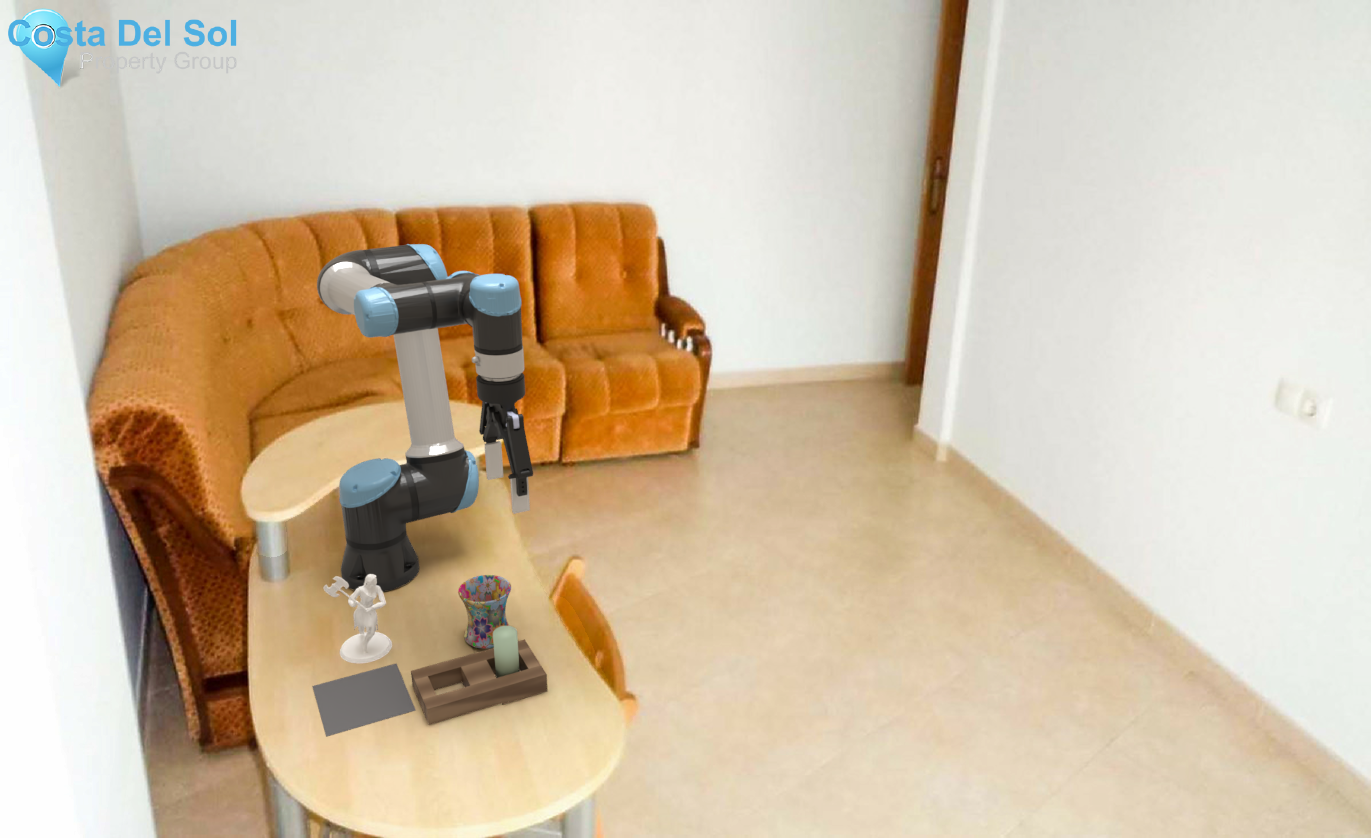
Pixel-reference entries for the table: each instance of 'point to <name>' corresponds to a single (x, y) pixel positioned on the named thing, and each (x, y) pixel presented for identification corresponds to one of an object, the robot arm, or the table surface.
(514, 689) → the walnut hole block
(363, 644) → the figurine
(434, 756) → the table surface
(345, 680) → the rubber mat
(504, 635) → the sage peg
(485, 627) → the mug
